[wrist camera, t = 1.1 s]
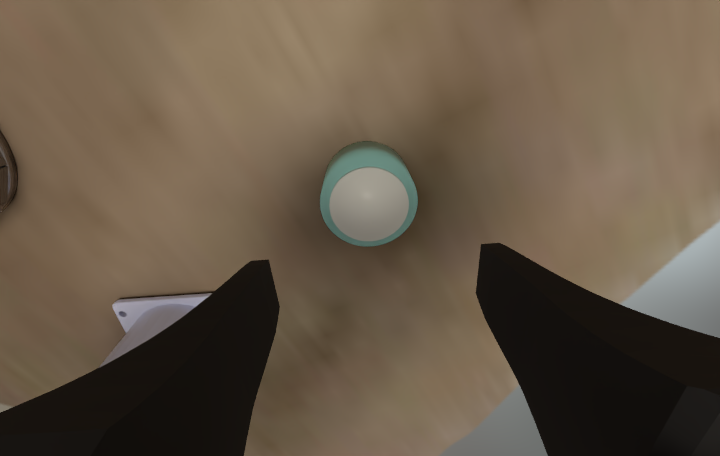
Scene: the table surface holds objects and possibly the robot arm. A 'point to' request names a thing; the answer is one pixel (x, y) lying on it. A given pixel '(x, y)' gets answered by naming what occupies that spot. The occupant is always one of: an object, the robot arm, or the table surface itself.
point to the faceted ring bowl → (6, 174)
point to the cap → (368, 194)
